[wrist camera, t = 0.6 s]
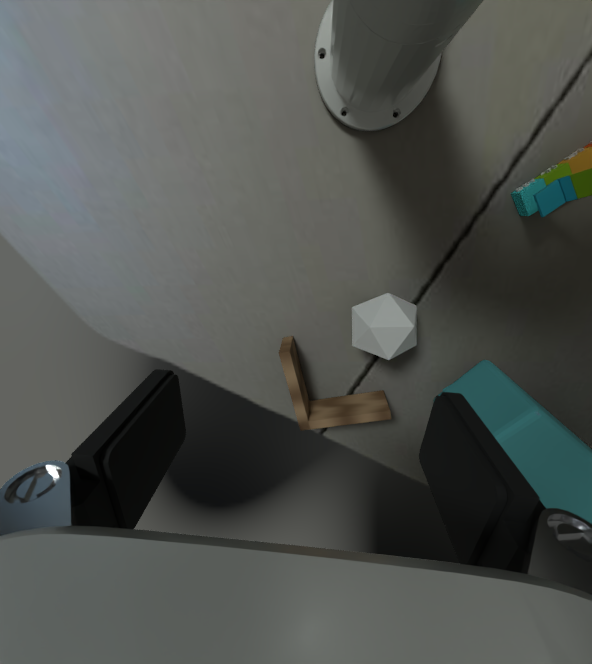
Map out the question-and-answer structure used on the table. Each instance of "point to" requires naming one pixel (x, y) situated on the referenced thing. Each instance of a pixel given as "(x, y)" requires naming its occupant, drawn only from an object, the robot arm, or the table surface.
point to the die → (384, 326)
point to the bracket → (328, 399)
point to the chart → (557, 184)
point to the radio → (531, 439)
